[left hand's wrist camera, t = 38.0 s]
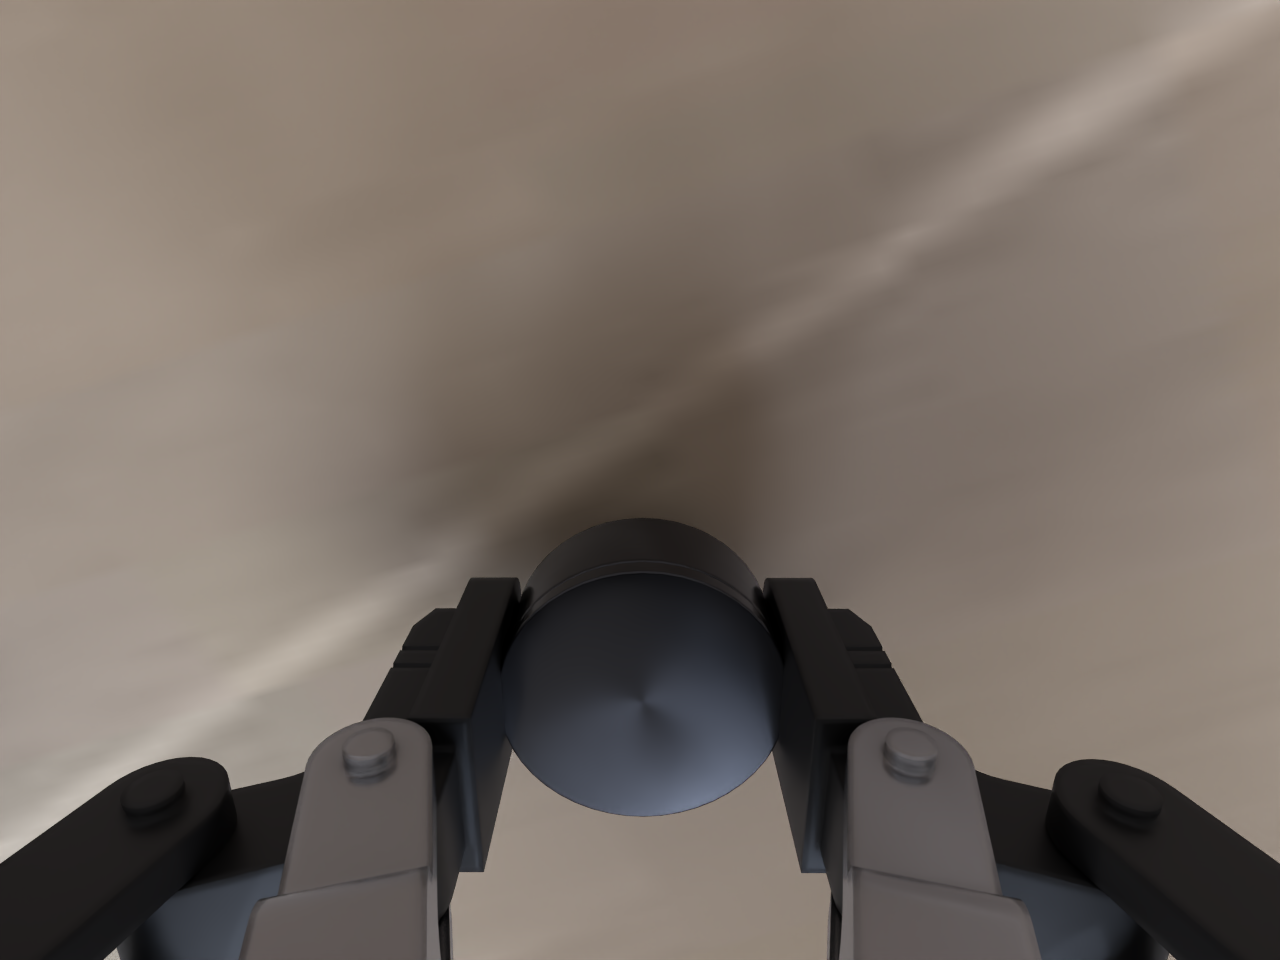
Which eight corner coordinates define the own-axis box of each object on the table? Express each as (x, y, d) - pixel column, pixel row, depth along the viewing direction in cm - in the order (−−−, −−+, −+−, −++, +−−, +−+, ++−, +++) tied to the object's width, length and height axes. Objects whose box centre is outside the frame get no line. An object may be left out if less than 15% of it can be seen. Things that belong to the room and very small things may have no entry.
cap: (811, 670, 12) (839, 745, 11) (600, 771, 13) (594, 856, 11) (691, 469, 11) (700, 518, 9) (466, 592, 12) (438, 657, 10)
